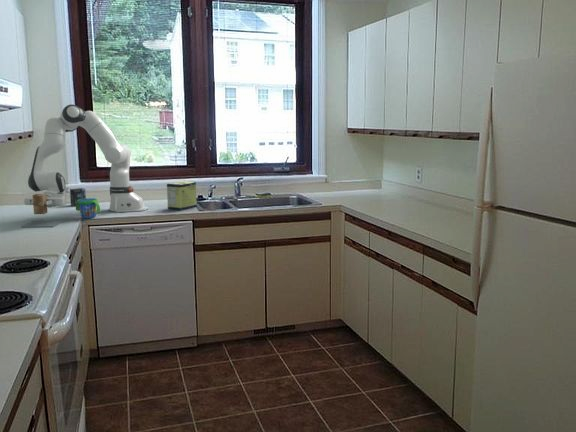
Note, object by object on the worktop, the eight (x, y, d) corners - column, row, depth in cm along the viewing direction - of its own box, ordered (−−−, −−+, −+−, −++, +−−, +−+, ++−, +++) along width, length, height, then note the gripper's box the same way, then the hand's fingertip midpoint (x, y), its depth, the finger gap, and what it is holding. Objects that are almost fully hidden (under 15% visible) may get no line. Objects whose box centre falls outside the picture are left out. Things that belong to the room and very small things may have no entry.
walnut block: (47, 212, 296) (46, 193, 294) (43, 214, 291) (42, 195, 289) (37, 212, 296) (36, 193, 294) (34, 214, 291) (32, 195, 289)
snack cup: (71, 217, 313) (69, 199, 312) (86, 214, 322) (85, 197, 321) (90, 220, 306) (89, 202, 304) (105, 217, 315) (104, 199, 313)
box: (74, 206, 350) (73, 189, 348) (70, 205, 354) (69, 189, 352) (86, 205, 355) (85, 188, 353) (82, 204, 359) (81, 187, 357)
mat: (62, 221, 302) (62, 220, 302) (53, 227, 288) (53, 226, 288) (32, 222, 301) (32, 221, 301) (21, 227, 288) (21, 226, 287)
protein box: (197, 206, 348) (196, 181, 346) (180, 210, 335) (179, 184, 332) (184, 205, 354) (183, 180, 351) (167, 209, 340) (166, 183, 337)
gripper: (29, 193, 304) (18, 197, 291) (67, 193, 305) (58, 197, 292) (30, 204, 306) (19, 209, 292) (68, 204, 306) (59, 209, 293)
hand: (39, 203), depth 292 cm, fingers closed on walnut block, 5 cm apart
